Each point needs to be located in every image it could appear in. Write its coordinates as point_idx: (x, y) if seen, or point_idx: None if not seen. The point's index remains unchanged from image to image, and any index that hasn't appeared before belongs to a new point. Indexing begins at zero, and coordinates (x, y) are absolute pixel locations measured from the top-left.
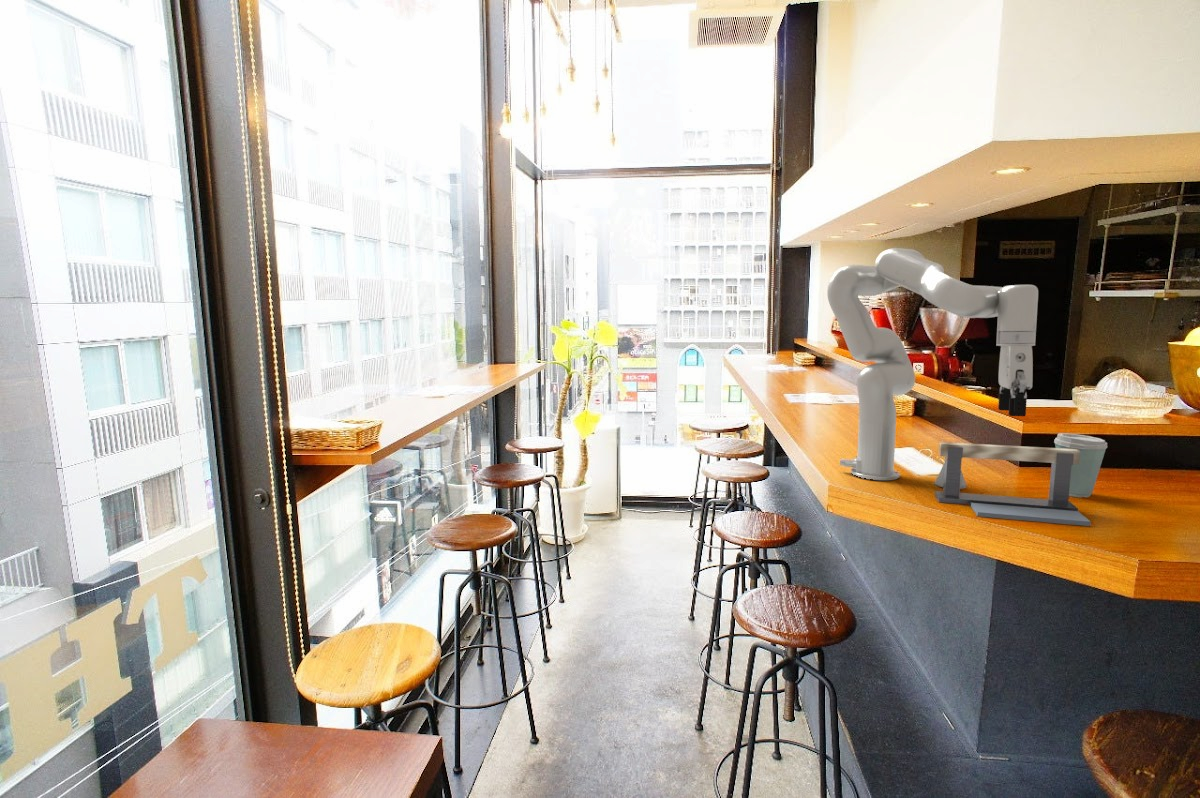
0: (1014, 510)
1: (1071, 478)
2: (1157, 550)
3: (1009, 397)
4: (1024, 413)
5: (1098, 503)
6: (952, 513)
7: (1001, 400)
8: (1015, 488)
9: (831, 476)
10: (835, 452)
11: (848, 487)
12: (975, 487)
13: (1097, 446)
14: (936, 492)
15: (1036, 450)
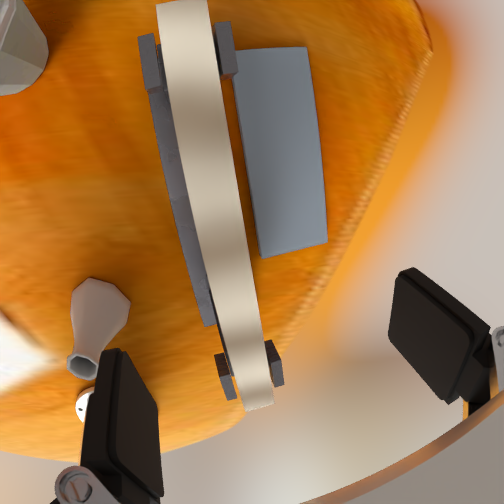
0: (287, 177)
1: (33, 58)
2: (386, 5)
3: (135, 452)
4: (419, 278)
5: (87, 14)
6: (319, 277)
7: (155, 455)
8: (30, 180)
9: (170, 443)
10: (22, 448)
11: (225, 418)
12: (74, 260)
13: None
14: (216, 323)
15: (230, 148)
